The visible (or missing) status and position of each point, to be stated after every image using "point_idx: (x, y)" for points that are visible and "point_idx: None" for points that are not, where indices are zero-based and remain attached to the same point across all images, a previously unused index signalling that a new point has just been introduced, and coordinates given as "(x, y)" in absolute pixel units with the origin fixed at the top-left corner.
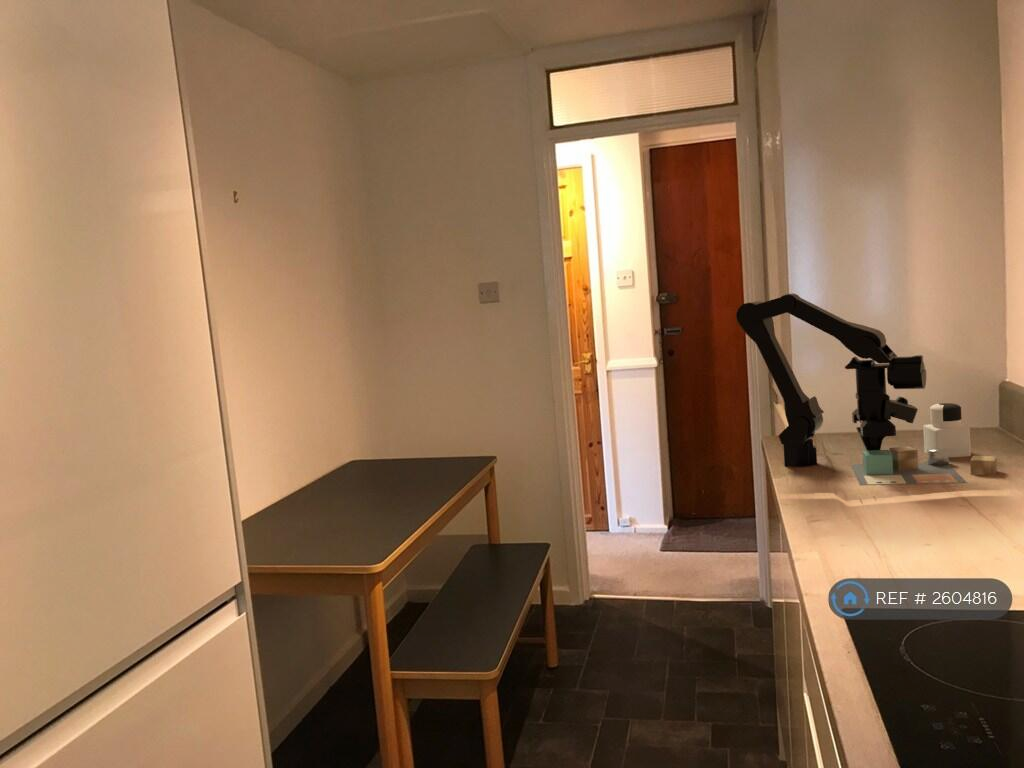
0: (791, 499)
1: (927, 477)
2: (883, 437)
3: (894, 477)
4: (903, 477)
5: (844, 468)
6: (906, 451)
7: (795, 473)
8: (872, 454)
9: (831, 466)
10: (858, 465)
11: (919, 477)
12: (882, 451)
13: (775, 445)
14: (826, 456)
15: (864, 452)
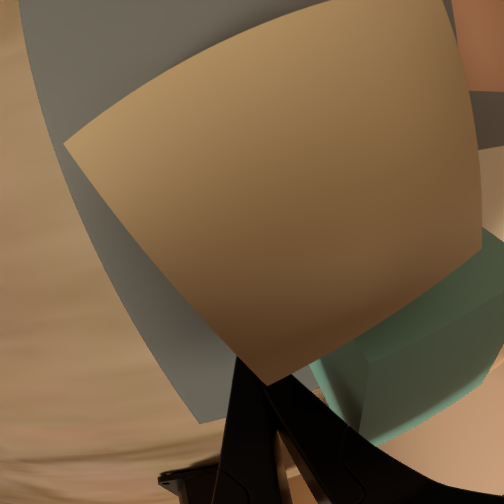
0: (497, 361)
1: (498, 25)
2: (458, 492)
3: (489, 185)
4: (497, 143)
5: (186, 420)
6: (473, 149)
7: (284, 465)
8: (478, 372)
9: (163, 448)
10: (215, 399)
11: (501, 63)
12: (428, 368)
13: (5, 500)
14: (26, 461)
15: (411, 426)
